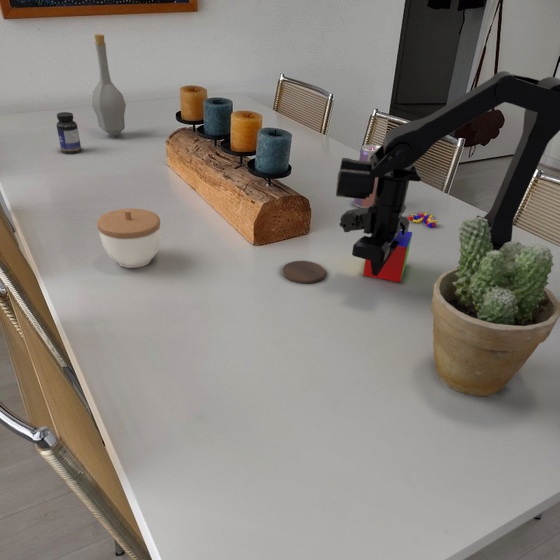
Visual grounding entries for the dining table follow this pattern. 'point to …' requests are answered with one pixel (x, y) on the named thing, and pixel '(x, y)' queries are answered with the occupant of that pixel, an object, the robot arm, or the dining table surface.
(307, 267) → the coaster
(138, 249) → the lidded bowl
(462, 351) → the potted plant
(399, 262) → the cube
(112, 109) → the bottle
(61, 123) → the pill bottle
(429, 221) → the building blocks
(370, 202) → the beverage can
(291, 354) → the dining table surface
